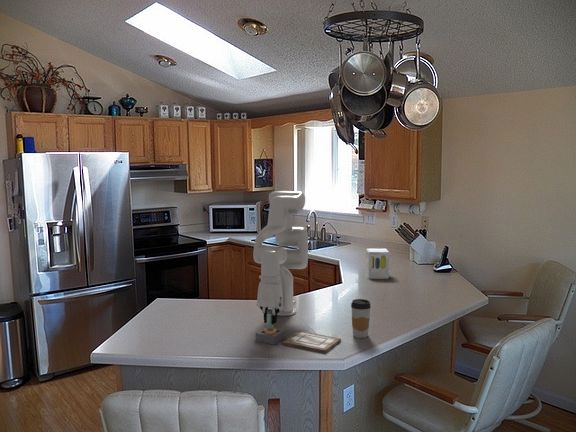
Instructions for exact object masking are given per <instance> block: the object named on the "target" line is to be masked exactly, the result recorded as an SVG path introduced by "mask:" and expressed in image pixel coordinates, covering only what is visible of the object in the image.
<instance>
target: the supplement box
mask: <svg viewBox="0 0 576 432" xmlns="http://www.w3.org/2000/svg"><path fill="white" fill-rule="evenodd" d="M365 250H366V251H365V252H366V253H365V255H366V256H365V257H366V258H365V275H366V277H367V279H369V280H370V279H372V280H373V279H375V280H376V279H378V280H381V279H382V280H388V279H389V276H390V274H389V273H390V272H389V271H390V251H389V250H388V249H387V248H386V247H385V248H372V247H371V248H366V249H365Z"/></svg>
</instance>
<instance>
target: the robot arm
mask: <svg viewBox="0 0 576 432" xmlns="http://www.w3.org/2000/svg"><path fill="white" fill-rule="evenodd" d="M268 202H269V209H268V210H269V211H268V217H267V225H265V226H264V227H263V228H262V229H261V230H260V231H259V232H258V234H257V236H256V237H255V240H254V246H253V255H252V257H253V261H254V262H255V263H257V264H260V266H261V267H260V269H261V270H260V273H261V274H260V275H259V276H258V278H259V279H260V281H259V283H258V288H257V298H256V299H257V300H256V307H258V308H259V309H260V310H261V311H262V313H263V323H265V324H267V309H272V313H273V315H271V324H274V325H275V324H276V323H278V322H277V321H278V316H279V317H280V316H281V317H287V316H292V315H293V316H294V315H295V314H297V308H295V307H294V305H296V304H297V301H296V300H294V276H293V274H292V273H291V271H290V270H304V269H306V268H307V267H308V263H309V262H308V261H309V254H308V253H309V237H308V236H309V234H308V230H307V229H306V228H305V227H302V226H294V224H293V223H294V221H293V220H294V217H293V215H295V216H296V215H301V213H302V212H303V209H304V207H305V205H306V195H305V193H304V192H303V191H299V190H298V191H295V190H294V191H292V190H276V191H275V190H274V191H272V192H270V193H269V194H268ZM271 237H275V243H276V245H277V246H273V245H263V243H264V242H265V241H266V240H268V239H269V238H271ZM285 247H296V249H295V248H294V249H293V248H285ZM297 248H298V249H297Z"/></svg>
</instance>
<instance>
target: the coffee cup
mask: <svg viewBox="0 0 576 432" xmlns="http://www.w3.org/2000/svg"><path fill="white" fill-rule="evenodd" d="M350 306H351V321H352V322H351V328H352V334H353V337H355V338H357V339H358V338H359V339H364V338H367V337H368V336H369V328H370V315H371V303H370V300H368V299H362V298H356V299H353V300H352V301H351V303H350Z"/></svg>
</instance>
